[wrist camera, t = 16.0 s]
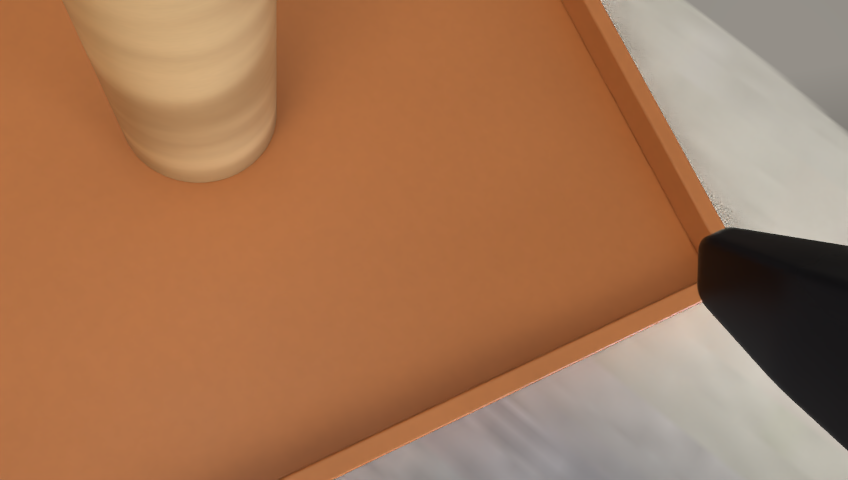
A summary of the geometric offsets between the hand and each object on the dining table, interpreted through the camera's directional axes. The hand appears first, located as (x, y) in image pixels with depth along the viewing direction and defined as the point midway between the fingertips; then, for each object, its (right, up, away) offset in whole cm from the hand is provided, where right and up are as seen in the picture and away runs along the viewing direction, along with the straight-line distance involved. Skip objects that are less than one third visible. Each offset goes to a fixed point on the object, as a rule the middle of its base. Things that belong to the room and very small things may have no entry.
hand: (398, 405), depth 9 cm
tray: (-7, +6, +15) cm, 17 cm away
